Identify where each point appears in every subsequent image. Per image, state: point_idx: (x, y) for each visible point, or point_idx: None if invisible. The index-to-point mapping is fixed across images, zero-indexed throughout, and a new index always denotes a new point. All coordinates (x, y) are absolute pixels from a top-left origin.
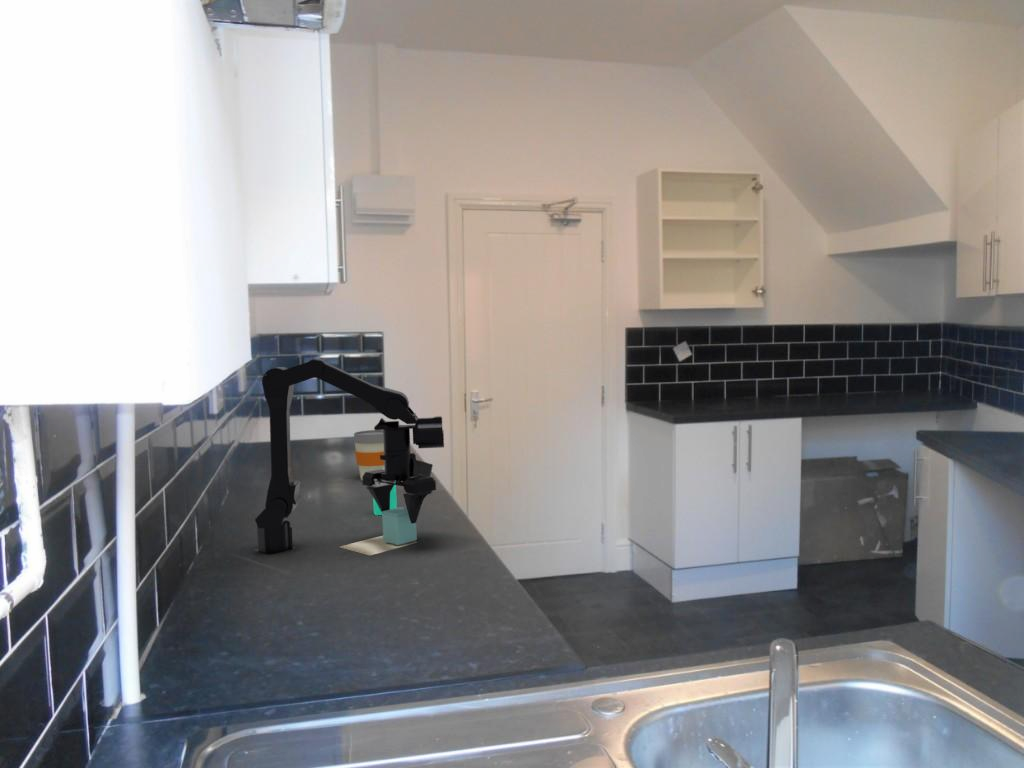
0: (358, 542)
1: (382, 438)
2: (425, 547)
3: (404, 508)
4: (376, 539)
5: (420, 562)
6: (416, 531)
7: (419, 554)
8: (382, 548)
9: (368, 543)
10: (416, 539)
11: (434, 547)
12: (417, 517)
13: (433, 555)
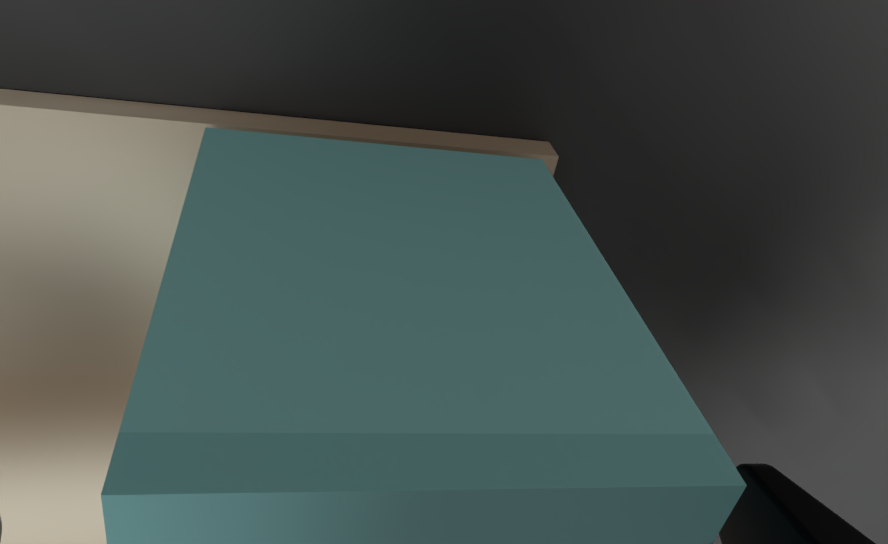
0: None
1: None
2: (687, 170)
3: (349, 521)
4: None
5: (841, 465)
6: (579, 219)
7: (744, 355)
8: None
9: (88, 459)
10: (542, 167)
11: (787, 119)
12: (844, 521)
13: (878, 315)
